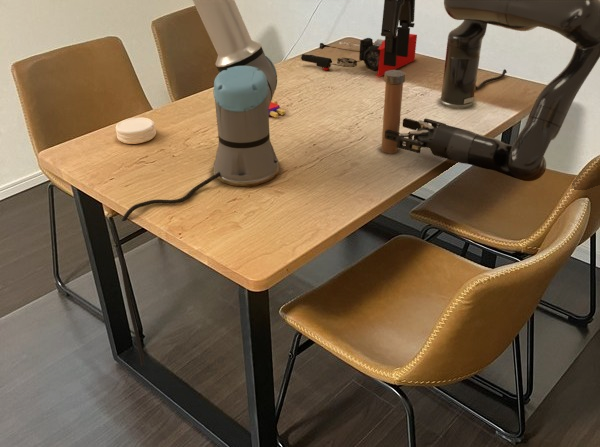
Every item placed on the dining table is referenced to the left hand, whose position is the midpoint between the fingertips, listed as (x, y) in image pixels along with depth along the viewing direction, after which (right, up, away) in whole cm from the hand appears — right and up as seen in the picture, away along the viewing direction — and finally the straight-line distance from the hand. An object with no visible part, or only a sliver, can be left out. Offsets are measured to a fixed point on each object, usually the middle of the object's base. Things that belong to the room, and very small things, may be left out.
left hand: (395, 60), depth 142 cm
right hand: (+1, -14, +8) cm, 17 cm away
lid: (0, -3, +2) cm, 3 cm away
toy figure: (-32, -6, +34) cm, 47 cm away
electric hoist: (-2, +17, +70) cm, 72 cm away
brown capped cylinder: (0, -19, +12) cm, 23 cm away
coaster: (-65, -15, +21) cm, 70 cm away
